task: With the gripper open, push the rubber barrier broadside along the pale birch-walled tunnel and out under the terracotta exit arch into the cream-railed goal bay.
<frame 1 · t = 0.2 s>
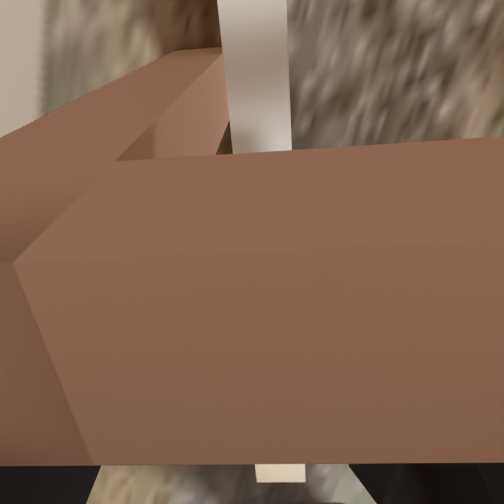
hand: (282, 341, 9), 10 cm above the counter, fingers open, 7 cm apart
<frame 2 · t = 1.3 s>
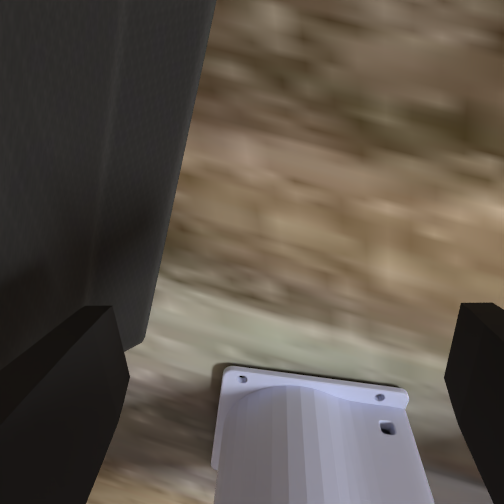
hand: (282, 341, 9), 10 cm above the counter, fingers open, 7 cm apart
barrier: (84, 75, 17), on the counter
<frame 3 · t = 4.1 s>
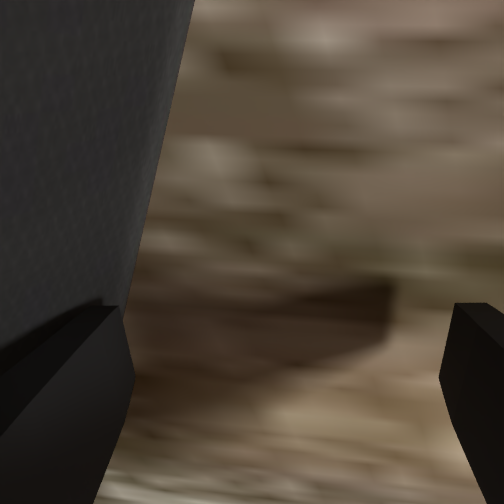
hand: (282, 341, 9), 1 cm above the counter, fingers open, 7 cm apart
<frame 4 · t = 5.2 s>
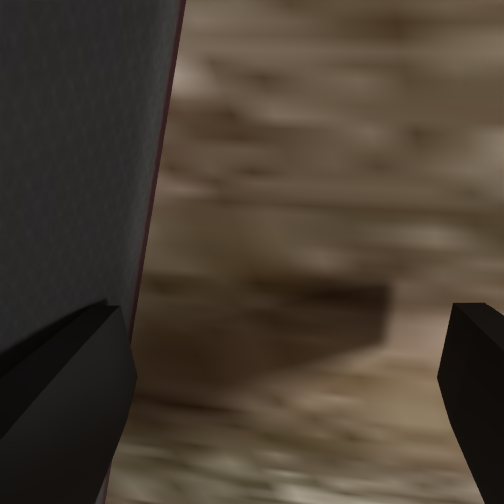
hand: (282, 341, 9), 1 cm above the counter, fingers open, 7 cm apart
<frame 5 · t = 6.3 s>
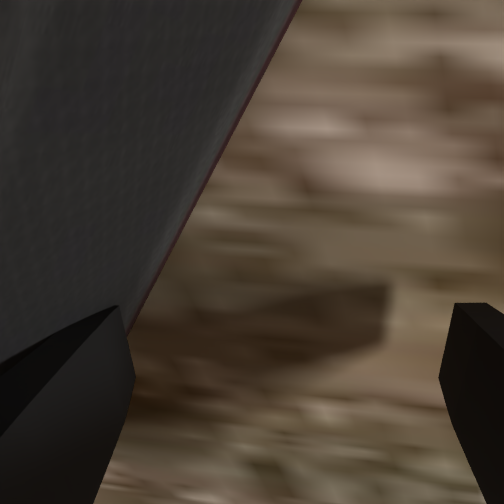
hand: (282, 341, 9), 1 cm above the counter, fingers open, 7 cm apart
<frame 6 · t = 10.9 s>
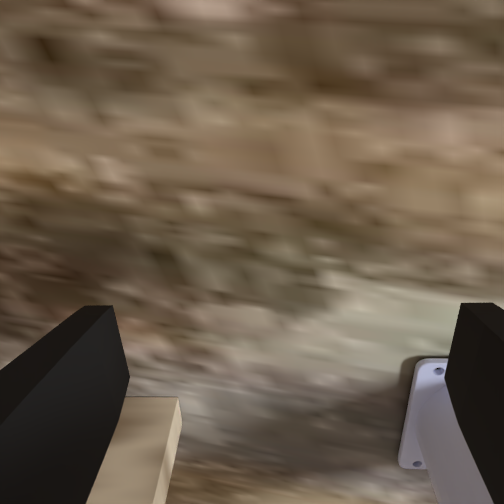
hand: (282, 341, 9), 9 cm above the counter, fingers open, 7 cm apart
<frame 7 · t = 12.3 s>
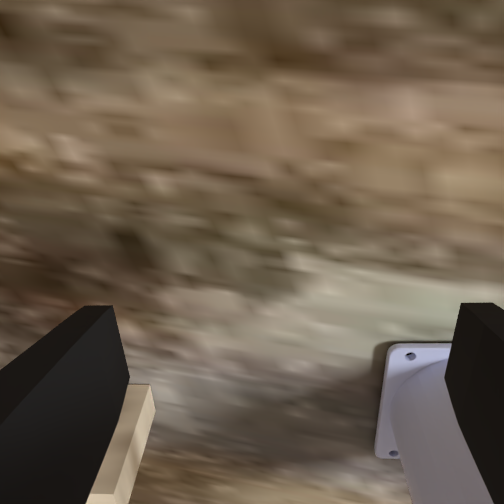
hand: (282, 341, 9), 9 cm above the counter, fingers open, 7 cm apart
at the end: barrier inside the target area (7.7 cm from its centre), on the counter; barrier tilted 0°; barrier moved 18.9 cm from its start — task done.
